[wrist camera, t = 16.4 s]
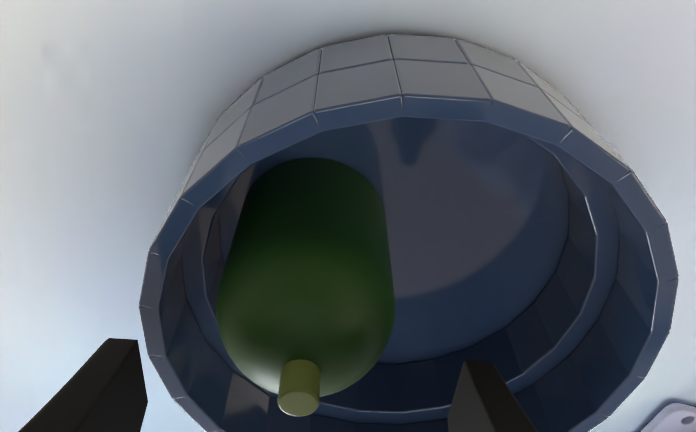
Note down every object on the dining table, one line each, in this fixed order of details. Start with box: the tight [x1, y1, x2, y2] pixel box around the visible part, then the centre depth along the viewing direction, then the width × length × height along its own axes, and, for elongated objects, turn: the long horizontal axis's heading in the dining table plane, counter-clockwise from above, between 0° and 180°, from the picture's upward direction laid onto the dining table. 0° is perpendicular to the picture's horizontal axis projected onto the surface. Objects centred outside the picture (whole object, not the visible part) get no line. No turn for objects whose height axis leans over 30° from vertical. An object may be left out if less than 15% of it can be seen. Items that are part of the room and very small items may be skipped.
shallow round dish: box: [139, 34, 678, 432], centre depth 17 cm, size 14×14×5 cm
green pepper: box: [216, 158, 395, 416], centre depth 15 cm, size 5×5×7 cm
